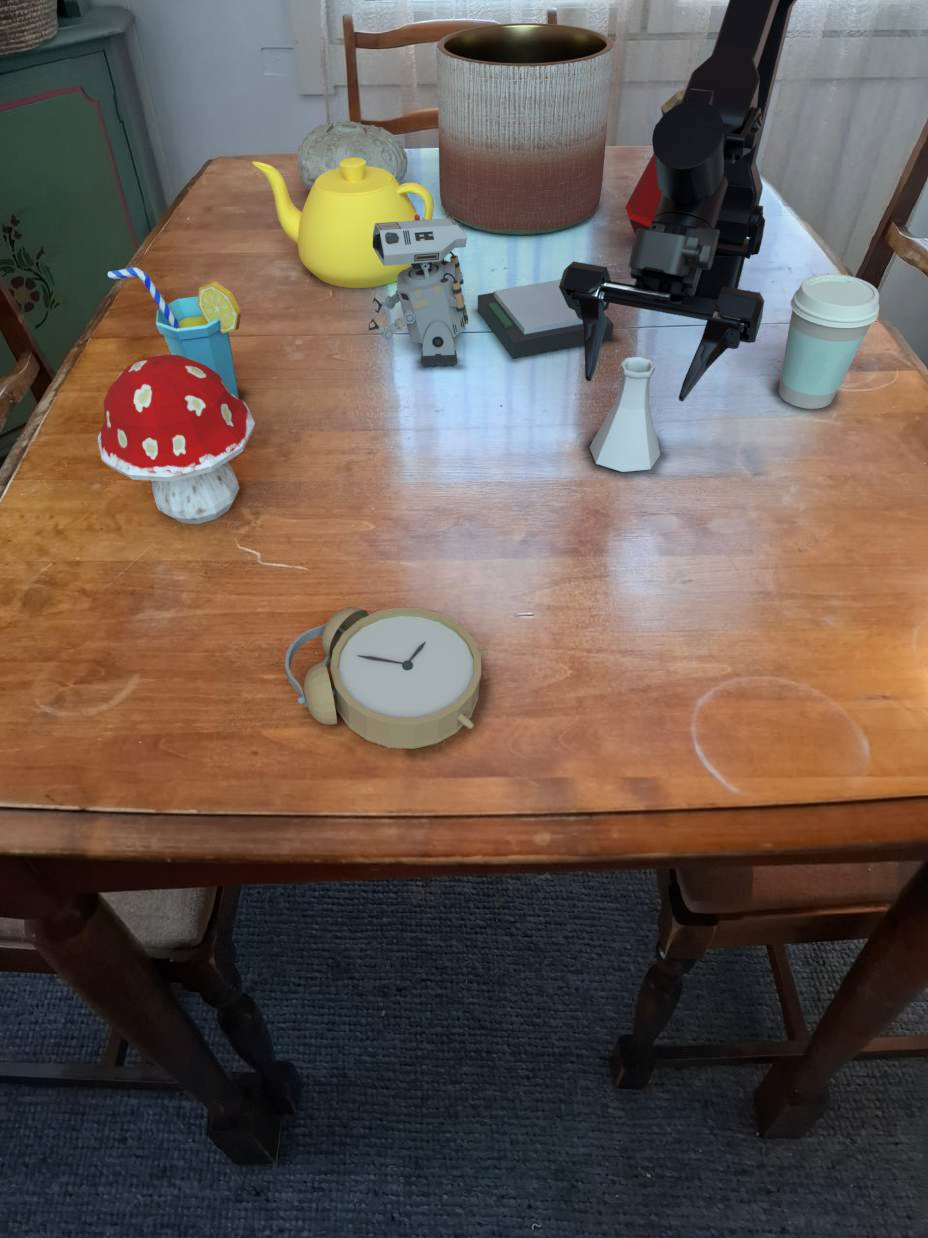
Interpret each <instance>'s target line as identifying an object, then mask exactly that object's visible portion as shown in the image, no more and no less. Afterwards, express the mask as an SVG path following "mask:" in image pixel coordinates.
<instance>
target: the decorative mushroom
mask: <svg viewBox="0 0 928 1238" xmlns="http://www.w3.org/2000/svg"><path fill="white" fill-rule="evenodd" d="M103 409H104V421H103V424H102V427H101V429H100V431H99V434H98V436H97V444H98V447H99V453H100V458H101V461H102V463H104V464H105V465H106V466H108V467H109V468H111V469H112V470H115V471H116V472H118V473H120V474H122V475H123V476H126V477H127V478H128V479H130V480H132V481H133V480H135V481H151V491H152V494H153V499H154V502H155V505H156V507H157V510H158V511H160V512H161V513H162V514H165V515H166V516H168V517H170V518H172V519H173V520H175V521H177V522H179V523H181V524H190V525H200V524H204V523H207V522H211V521H214V520H217V519H219V518H220V517H221V516H222V515H225V513H227V512H228V511H229V510H230V509H231V507H232V505H233V503H234V501H235V498H236V497H237V495H238V493H239V490H240V486H239V481H238V479H237V476H236V474H235V471H234V469H233V467H232V466H231V464H230V463H229V461H232V460H233V458H235V457H237V456H239V455H240V454H241V453H242V452H244V450H245V448H246V446H247V444H248V442H249V440H250V438H251V436H252V434H253V432H254V430H255V425H256V422H255V419H254V418H253V416H252V413H251V411H250V409H249V407H248V404H247V403H246V402H245V401H244V400H242V399H241V398H238V397H236V396H235V395H234V394H232V393H231V392H230V391H229V390H228V388H227V386H226V385H225V383H224V382H223V380H222V379H221V377H220V375H219V374H217V373H216V372H214V371H213V370H212V369H210V368H209V367H207V366H206V365H203V364H201V363H199V362H196V361H194V360H192V359H190V358H186V357H183V356H179V355H171V354H157V355H153V356H148V357H143V358H141V359H139V360H137V361H135V362H133V363H131V364H130V365H128V366H127V367H125V368H124V369H123V371H121V372H120V374H119V375H117V377H116V379H114V381H113V382H112V384H111V385H110V386H109V389H108V391H107V393H106V395H105V398H104V399H103Z"/></svg>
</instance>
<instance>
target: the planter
mask: <svg viewBox="0 0 928 1238" xmlns="http://www.w3.org/2000/svg"><path fill="white" fill-rule="evenodd" d="M435 48H436V49H435V51H436V53H435V54H436V83H437V84H436V86H437V123H438V124H437V125H438V128H437V129H438V174H439V175H438V177H439V179H438V182H439V183H438V184H439V195H440V196H439V197H440V198H439V199H440V204H441V206H442V209H443V210H444V211H445V213H447V214H448V215H449V216H450V218H452V219H453V220H455V221H457V222H459V223H461V224H463V225H465V226H467V227H469V228H472V229H475V230H479V231H483V232H487V233H491V234H492V233H493V234H501V235H509V236H510V235H511V236H512V235H513V236H524V235H525V236H526V235H541V234H547V233H551V232H557V231H561V230H565V229H568V228H570V227H573V226H575V225H577V224H580V223H581V222H583V221H585V220H586V219H587V218H589V217H590V216H591V215H592V214H594V213H595V212H596V211H597V209H598V208H599V206H600V201H601V195H602V189H603V178H604V168H605V167H604V166H605V156H606V143H607V134H608V133H607V132H608V121H609V120H608V119H609V108H610V98H611V87H612V77H613V68H614V67H613V65H614V57H615V55H614V54H615V42H614V40H613V39H612V38H610V37H609V36H608V35H606V34H604V33H601V32H599V31H596V30H593V29H589V28H585V27H579V26H573V25H566V24H557V23H539V22H538V23H537V22H517V23H514V22H513V23H499V24H489V25H481V26H476V27H475V26H474V27H470V28H466V29H462V30H459V31H455V32H451V33H450V34H447V35H446V36H443V37H442V38H441V39H439V40H438V41H437V43H436V46H435Z"/></svg>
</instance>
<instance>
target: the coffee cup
mask: <svg viewBox="0 0 928 1238" xmlns="http://www.w3.org/2000/svg"><path fill="white" fill-rule="evenodd" d="M879 299H880V292H879V291H878V289H877V288H876V287H875V286H874V285H873V284H872V283H870V282H868V281H866V280H864V279H861V278H858V277H856V276H852V275H846V274H841V273H840V274H837V273H824V274H823V273H822V274H816V275H813V276H809V277H808V278H806V279H804V280H803V281H802V283H801V285H800V286H799V288H798V289H797V290H796V291H795V292H794V294H793V297H792V298H791V300H790V308H791V315H790V319H789V327H788V332H787V338H786V344H785V350H784V356H783V361H782V367H781V372H780V379H779V385H778V394H779V397H780V398H781V399H782V400H783V401H784V402H786V403H788V404H789V405H791V406H793V407H797V408H800V409H808V410H816V409H823V408H825V407H828V406H829V405H830V404H831V403H832V402H833V400H834V398H835V396H836V394H837V392H838V390H839V389H840V386H841V384H842V382H843V380H844V379H845V377H846V375H847V372H848V371H849V369H850V367H851V365H852V363H853V362H854V359H855V357H856V355H857V353H858V351H859V349H860V347H861V345H862V343H863V341H864V339H865V337H866V335H867V333H868V331H869V329H870V327H871V325H872V324H873V323H874V322H875V321H876V320H877V319H878V318H879V311H880V304H879V303H880V302H879Z"/></svg>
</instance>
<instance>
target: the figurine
mask: <svg viewBox="0 0 928 1238" xmlns="http://www.w3.org/2000/svg"><path fill="white" fill-rule="evenodd" d="M414 219H415V220H412V221H400V222H385V223H375V226H374V231H373V241H372V242H373V248H374V250H375V252H376V254H377V256H378V257H379V259H380V261H381V262H382V264H383V265H384V266H388V265H401V264H411V265H412V266H411V267H409V268H408V269H406V270H403V271H401V272H400V273H399V274H398V280H397V281H396V283H397V284H396V290H395V293H394V294H393V295H392V296H390V295H387V296H386V297H385V299H384V301H382V302H380V301H379V300H378V299H377V298H376V297H373V301H372V304H374V303H376V304H377V305H378V308H377V309H373V310H374V311H375V313H377V314H379V313H380V311H381V309H382V307H383V308H384V307H386V308H387V309H390V310H393V309H394V308H395V307H396V304H398V303H400V306H401V310H402V314H403V317H396V318H395V319H394V321H393V322H394V323H391V325H390V326H385V327H383V326H381V325H380V324H378V323H377V322H376V321H375V319H374V318H372V319H371V320H370V322H369V323H368V331H374V330H378V331H380V332H381V336H382V338H383V339H384V340H386V341H389V340H391V339H393V337H394V335H395V334H396V333H398V332H399V331H402V330H404V329H405V328H406V329H407V332H408V337H409V340H410V341H412V342H414V343H415V342H416V343H417V344H418V343H419V344H422V350H421V353H420V354H421V356H420V366H422V365H423V367H424V368H429V367H431V368H435V367H436V366H437V365H440V366H442V367H443V368H445V367H447V366H448V367H454V366H455V365H458V355H457V350H456V348H455V341H454V340H455V339H454V338H456V337H457V336H458V335H459V334H460V333H462V332H464V331H465V330H466V329H467V325H468V324H469V317H468V312H467V308H466V304H465V298H464V294H463V289H462V285H463V284H464V282H465V281H464V276H463V273H462V270H461V264H460V260H459V257H458V255H457V254H454V253H453V252H452V251H453V250H454V249H457V248H466V247H467V243H468V242H467V241H468V236H467V233H466V232H465V231H464V230H463V229H462V227H461V226H460V225H459V224H458V223H457V222H456V220H455V219H454V218H453V217H449V218H448V217H446V218H432V219H430V220H424V219H421V217H420V215H419V214H417V215H415V217H414ZM449 254H451V256H450V257H449V260H450V261H449V260H446V259H445V258H446V257H447V256H448V255H449ZM372 323H373V325H374V326H372V327H371V324H372Z"/></svg>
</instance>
